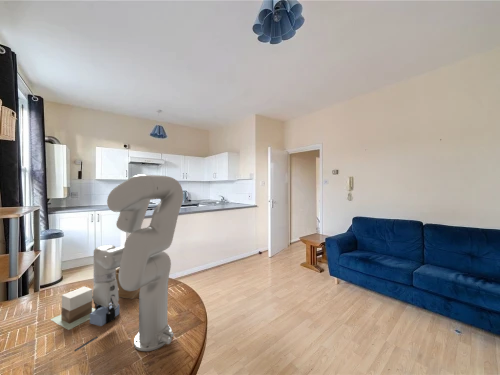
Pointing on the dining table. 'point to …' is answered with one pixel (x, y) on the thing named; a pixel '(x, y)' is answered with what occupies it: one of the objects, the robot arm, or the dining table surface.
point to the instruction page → (85, 344)
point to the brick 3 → (101, 315)
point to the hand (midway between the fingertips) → (105, 318)
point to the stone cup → (123, 292)
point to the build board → (73, 324)
